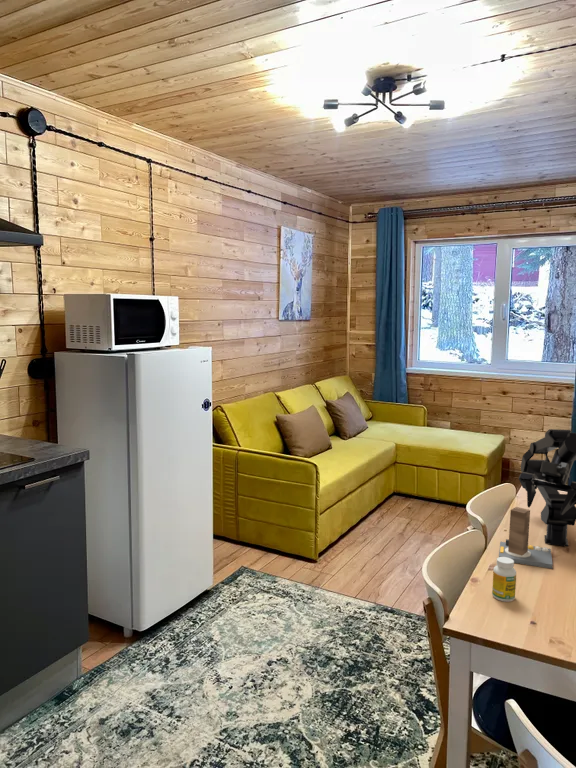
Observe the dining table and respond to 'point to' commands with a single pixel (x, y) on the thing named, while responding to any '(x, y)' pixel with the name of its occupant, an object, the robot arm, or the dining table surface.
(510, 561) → the supplement bottle
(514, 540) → the post
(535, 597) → the dining table surface
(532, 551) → the panel
